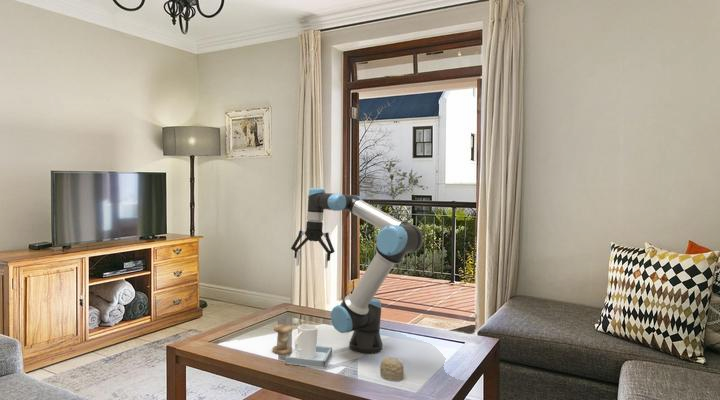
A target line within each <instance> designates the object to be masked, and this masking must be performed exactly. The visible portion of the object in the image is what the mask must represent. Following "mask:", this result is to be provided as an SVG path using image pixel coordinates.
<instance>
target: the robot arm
mask: <svg viewBox="0 0 720 400" xmlns="http://www.w3.org/2000/svg"><path fill="white" fill-rule="evenodd" d="M324 210H328V211H333V212H334V211H335V212H339V211H341V212H342V211H346V212H347V211H348V212H350V213H352V214H353V215H354V216H357V217H358V218H359V219H362V220H363V221H365V222H366V223H368V224H371V225H373V226H374V227H375V228H377V229H379V232H378V233H377V235H376V243H375V244H376V246H375V252H376V254H375V255H374V256H373V258H372V260H371V262H370V263H369V265H368V266H367V268H366V269H365V272H364V273H363V274H362V276H361V278H360V280H359V281H358V283H357V284H356V286H355V287H354V289H353V290H352V293H351V294H348V295H346V296H345V297H344V298H343V300H342V302H341V303H340V304H338V305H335V306H334V307H333V308H332V309H331V311H330V312H331V313H330V320H331V324H332V327H333V328H334V329H335V331H337V332H338V333H340V334H341V333H342V334H346V333H347V334H348V333H351V332H352V335H351V336H350V337H351V338H350V339H349V345H348V348H349V349H350V350H351V351H352V352H355V353H358V354H359V353H360V354H365V355H367V354H368V355H374V354H378V353H381V352H382V351H383V342H382V337H381V333H380V331H381V330H380V327H381V316H382V301H381V300H380V299H378V298H375V295H376V294H377V292H378V291H379V289H380V288H381V286H382V284H383V283H384V282H385V279H386V278H387V277H388V275H389V274H390V272H391V271H392V269H393V267H394V266H395V265H398V264H400V263H401V261H402V260H403V259H404V257H405V256H406V254H413V253H416V252H417V251H418V250H420V248H421V247H422V246H423V243H424V235H423V231H422V230H421V229H420V228H419V227H417V226H415V225H414V224H412V223H410V222H408V221H406V220H402V221H401V220H399V219H397V218H396V217H394V216H392V215H391V214H388V213H386V212H384V211H383V210H381V209H379V208H377V207H376V206H373V205H372V204H370V203H367V202H365V201H364V200H363V199H362V198H361V196H358V195H357V194H356V195H355V194H343V193H342V194H341V193H330V192H329V193H328V192H326V189H325V188H320V187H319V188H317V187H311V188H309V190H308V196H307V213H306V220H307V221H306V224H305V225H306V226H305V229H306V230H305V231H304V230H301V229H300V230H299V231H298V235H297V237H296V238H295V241H294V242H293V244H292V246H291V248H290V249H291V251H294V259H296V261H295V266H297V267H298V266H300V253H301V251H299V250H300V249H301V248H302V247H303V246H304V245H305V244H306V243H307V242H309V241H310V242H318V243H319V244H320V245H321V246H322V248H323V250H324V251H325V252H326V253H325V258H324V269H327V268H328V262H330V260H331V255H332V254H333V253H335V252H336V251H335V249H334V248H335V247H334V246H333V244H332V241H331V239H330V233H329V232H323V226H324V224H323V221H324ZM304 235H305V238H304V239H303V240H302V241H301V243H299V242H300V240H301V238H302V237H303V236H304ZM322 237H324V238H325V240H326V243H327V244H326V243H325V242H324V240H323V238H322ZM327 245H328V246H327ZM381 350H382V351H381ZM380 351H381V352H380Z"/></svg>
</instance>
